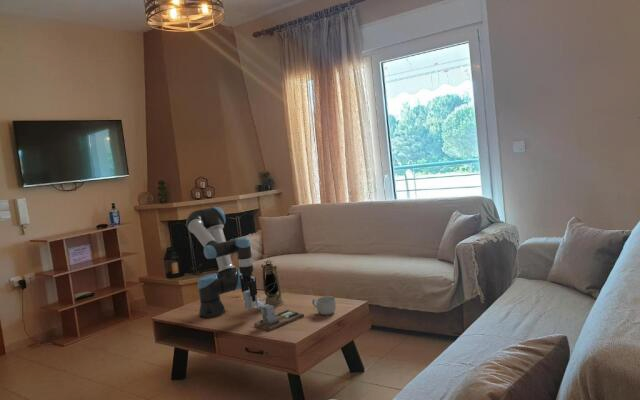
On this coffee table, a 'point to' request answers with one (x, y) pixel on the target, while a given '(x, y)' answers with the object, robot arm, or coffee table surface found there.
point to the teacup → (325, 305)
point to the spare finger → (248, 299)
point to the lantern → (271, 285)
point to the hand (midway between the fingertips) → (251, 305)
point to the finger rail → (276, 318)
